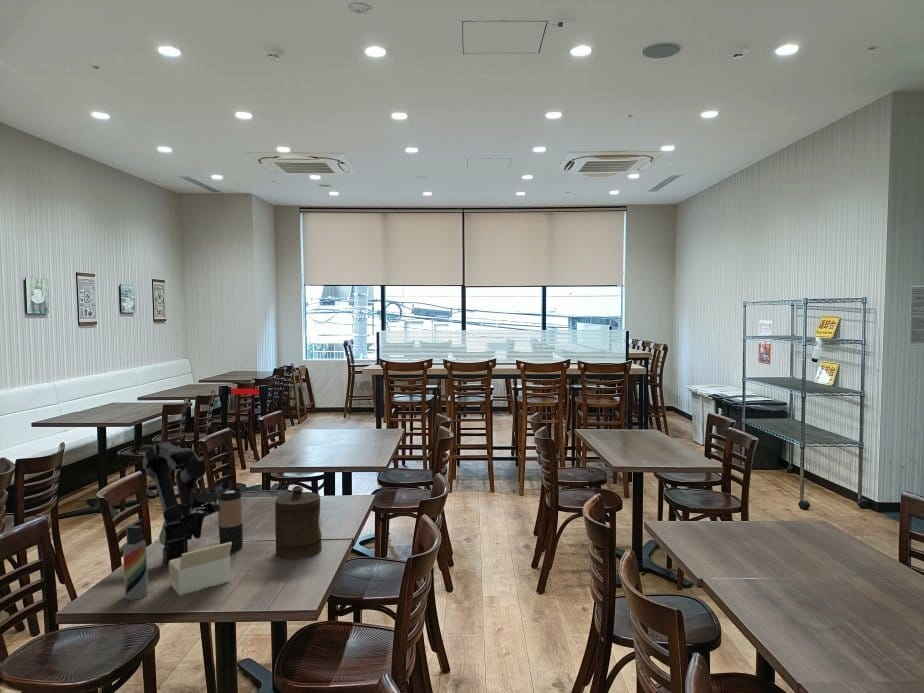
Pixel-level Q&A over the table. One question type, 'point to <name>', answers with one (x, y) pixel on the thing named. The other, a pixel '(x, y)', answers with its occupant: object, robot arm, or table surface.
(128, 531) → the lotion bottle
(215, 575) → the storage box
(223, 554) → the top flap
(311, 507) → the wooden container
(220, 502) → the travel mug
